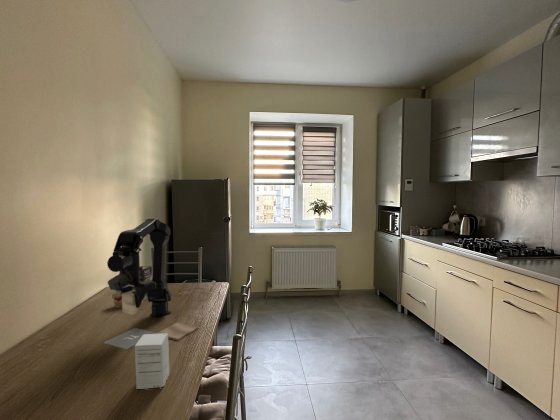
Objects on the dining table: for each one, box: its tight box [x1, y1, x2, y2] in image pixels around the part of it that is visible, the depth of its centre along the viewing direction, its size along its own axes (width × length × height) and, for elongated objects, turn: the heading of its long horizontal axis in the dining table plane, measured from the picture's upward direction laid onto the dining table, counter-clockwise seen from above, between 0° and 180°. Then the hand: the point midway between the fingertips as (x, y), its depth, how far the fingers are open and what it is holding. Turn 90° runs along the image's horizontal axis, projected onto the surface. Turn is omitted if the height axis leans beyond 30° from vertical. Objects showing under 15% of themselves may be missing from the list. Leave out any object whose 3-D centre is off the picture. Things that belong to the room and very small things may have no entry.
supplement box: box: [134, 333, 171, 390], centre depth 91 cm, size 7×7×13 cm
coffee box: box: [132, 265, 153, 302], centre depth 165 cm, size 9×6×16 cm
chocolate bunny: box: [111, 290, 122, 309], centre depth 154 cm, size 6×8×10 cm
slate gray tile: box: [102, 327, 157, 350], centre depth 120 cm, size 14×12×1 cm
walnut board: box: [155, 322, 199, 341], centre depth 125 cm, size 11×11×1 cm
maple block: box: [121, 290, 144, 315], centre depth 120 cm, size 5×5×7 cm
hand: (132, 306), depth 120 cm, fingers closed on maple block, 5 cm apart
